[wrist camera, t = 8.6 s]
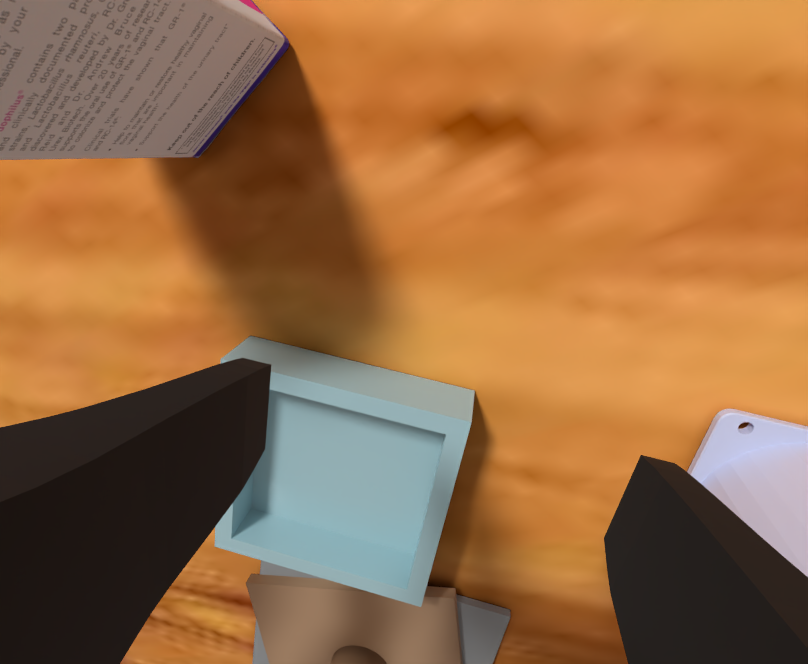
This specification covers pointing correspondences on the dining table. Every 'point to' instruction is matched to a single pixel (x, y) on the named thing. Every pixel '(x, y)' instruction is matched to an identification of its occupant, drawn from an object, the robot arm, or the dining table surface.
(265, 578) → the lid
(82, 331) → the dining table surface
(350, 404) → the dish
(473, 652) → the mat
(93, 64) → the supplement box
